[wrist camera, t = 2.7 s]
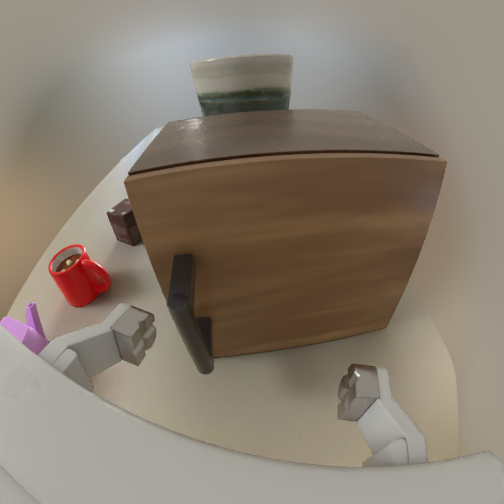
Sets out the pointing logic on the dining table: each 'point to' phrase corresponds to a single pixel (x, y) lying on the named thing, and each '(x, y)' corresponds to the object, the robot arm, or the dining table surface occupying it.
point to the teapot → (28, 330)
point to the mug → (78, 275)
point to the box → (124, 223)
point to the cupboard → (272, 137)
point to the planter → (243, 83)
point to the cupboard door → (284, 245)
